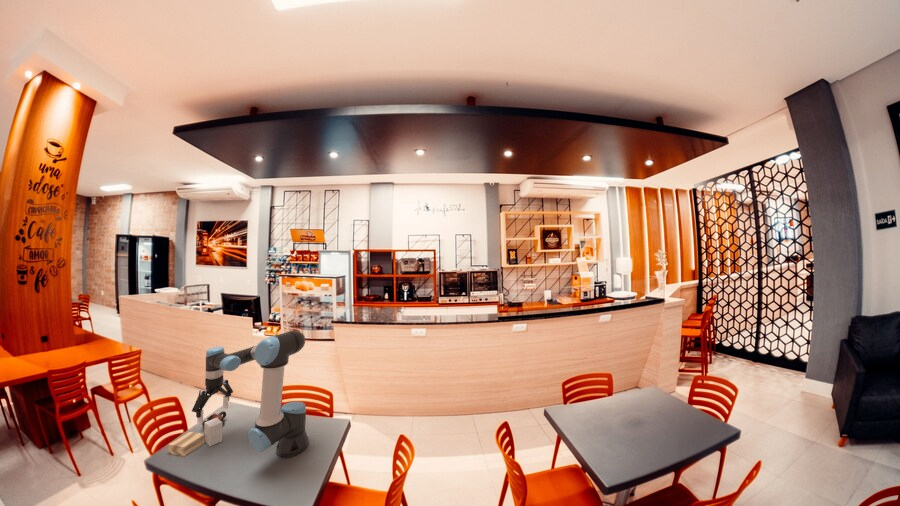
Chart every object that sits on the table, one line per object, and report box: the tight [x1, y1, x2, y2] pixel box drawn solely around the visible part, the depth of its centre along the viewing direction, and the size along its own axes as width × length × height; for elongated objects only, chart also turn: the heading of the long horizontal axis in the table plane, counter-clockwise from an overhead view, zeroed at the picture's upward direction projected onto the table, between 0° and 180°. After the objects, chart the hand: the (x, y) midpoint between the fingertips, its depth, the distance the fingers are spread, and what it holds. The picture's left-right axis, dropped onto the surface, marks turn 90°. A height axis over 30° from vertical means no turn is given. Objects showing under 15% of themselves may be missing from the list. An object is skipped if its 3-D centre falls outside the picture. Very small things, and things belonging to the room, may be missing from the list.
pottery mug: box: [201, 410, 227, 429], centre depth 164 cm, size 12×10×8 cm
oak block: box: [167, 431, 206, 457], centre depth 145 cm, size 10×10×5 cm
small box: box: [203, 418, 223, 447], centre depth 151 cm, size 8×6×10 cm
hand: (213, 414), depth 151 cm, fingers open, 13 cm apart
